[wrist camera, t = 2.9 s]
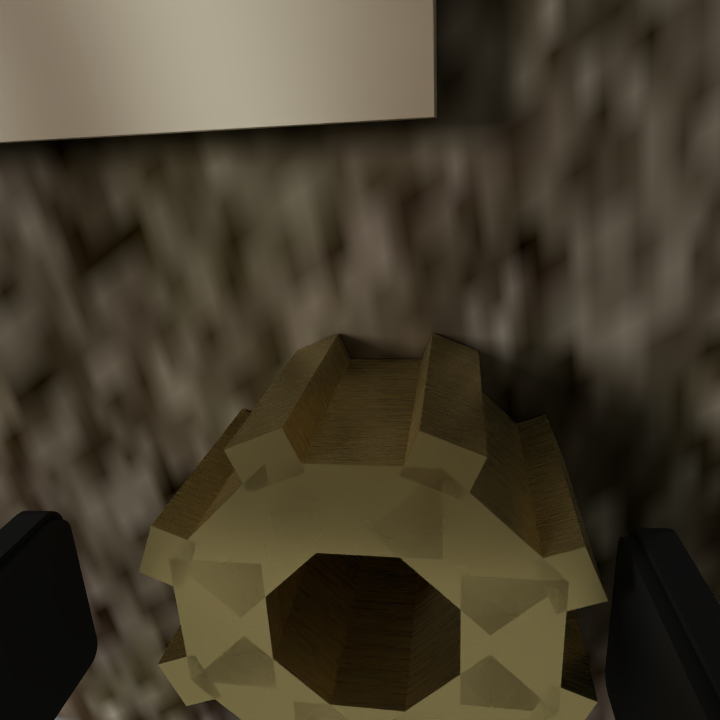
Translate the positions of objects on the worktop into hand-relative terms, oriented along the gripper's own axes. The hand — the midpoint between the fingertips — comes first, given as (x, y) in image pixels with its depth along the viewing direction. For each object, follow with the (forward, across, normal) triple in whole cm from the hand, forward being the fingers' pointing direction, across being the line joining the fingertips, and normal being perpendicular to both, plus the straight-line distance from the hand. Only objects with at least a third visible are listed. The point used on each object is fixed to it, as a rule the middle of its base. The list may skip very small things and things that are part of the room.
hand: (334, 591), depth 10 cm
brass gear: (+3, -1, 0) cm, 3 cm away
